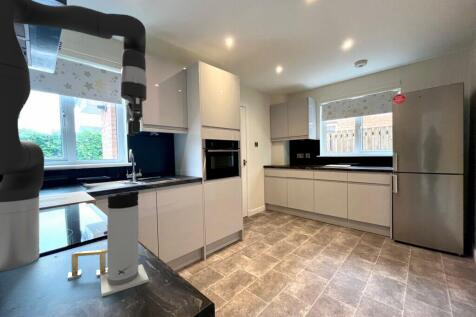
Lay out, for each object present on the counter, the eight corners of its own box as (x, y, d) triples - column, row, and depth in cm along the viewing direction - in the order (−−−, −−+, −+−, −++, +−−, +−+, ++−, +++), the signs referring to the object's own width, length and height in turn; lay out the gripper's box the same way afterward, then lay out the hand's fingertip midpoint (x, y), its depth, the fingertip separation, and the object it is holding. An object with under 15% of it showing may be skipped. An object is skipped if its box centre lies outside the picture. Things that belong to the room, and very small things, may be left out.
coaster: (101, 296, 42) (101, 294, 42) (100, 278, 48) (100, 275, 48) (148, 281, 47) (148, 279, 47) (141, 266, 54) (141, 264, 54)
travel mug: (126, 287, 44) (126, 194, 44) (100, 283, 45) (100, 193, 45) (145, 271, 50) (145, 189, 50) (121, 268, 51) (122, 188, 51)
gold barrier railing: (66, 285, 45) (66, 260, 45) (68, 275, 49) (68, 252, 49) (133, 267, 53) (133, 245, 53) (130, 259, 57) (130, 239, 57)
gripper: (118, 88, 71) (118, 135, 71) (123, 74, 59) (123, 131, 59) (142, 92, 75) (142, 136, 75) (151, 80, 63) (151, 132, 64)
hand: (133, 134), depth 67 cm, fingers open, 8 cm apart
